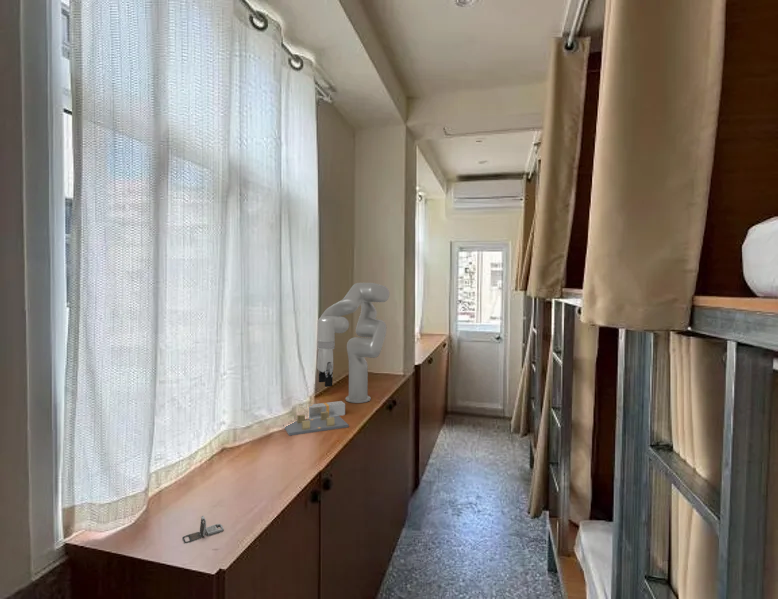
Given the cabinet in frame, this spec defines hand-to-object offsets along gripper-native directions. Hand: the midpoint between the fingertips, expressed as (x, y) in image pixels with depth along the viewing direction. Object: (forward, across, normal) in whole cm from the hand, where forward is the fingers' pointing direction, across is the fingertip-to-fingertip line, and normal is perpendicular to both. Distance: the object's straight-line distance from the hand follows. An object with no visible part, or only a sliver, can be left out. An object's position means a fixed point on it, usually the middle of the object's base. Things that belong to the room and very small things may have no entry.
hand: (325, 384), depth 184 cm
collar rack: (+14, +11, -7) cm, 20 cm away
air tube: (+14, -1, +1) cm, 14 cm away
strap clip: (+17, +73, -50) cm, 91 cm away
